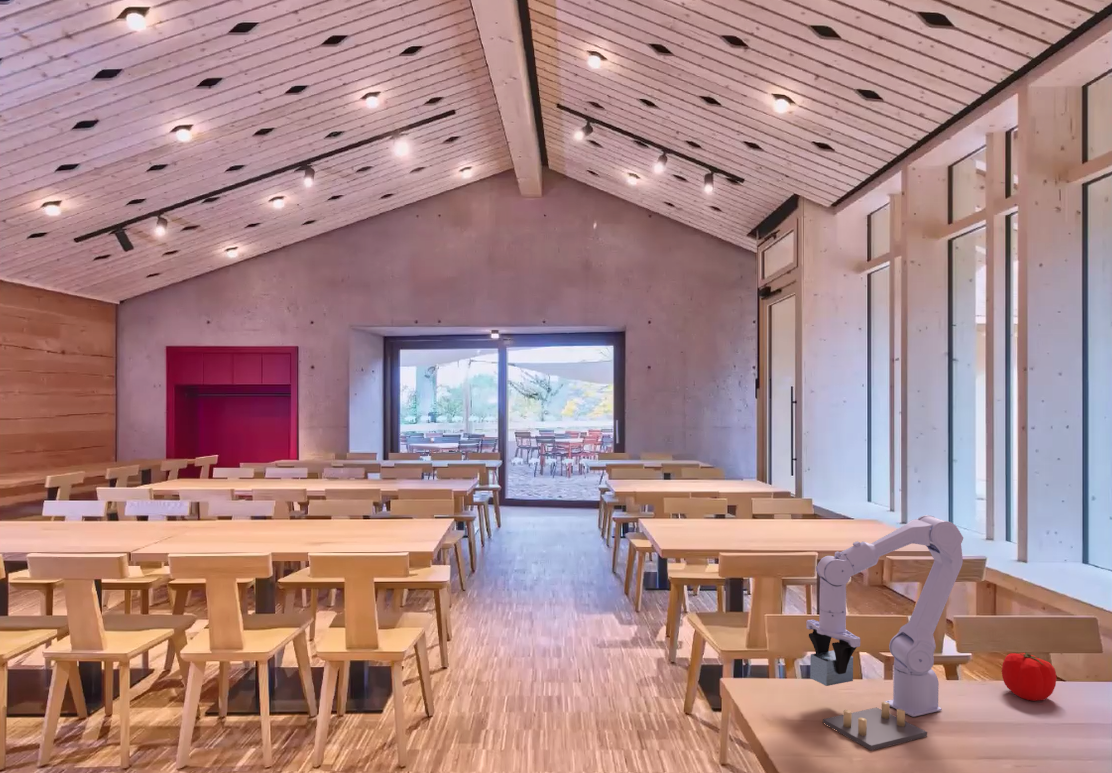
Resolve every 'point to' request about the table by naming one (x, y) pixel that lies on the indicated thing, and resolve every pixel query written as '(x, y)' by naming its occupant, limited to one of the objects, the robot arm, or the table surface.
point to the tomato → (1028, 676)
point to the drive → (829, 669)
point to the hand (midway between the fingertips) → (832, 668)
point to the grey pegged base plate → (875, 727)
